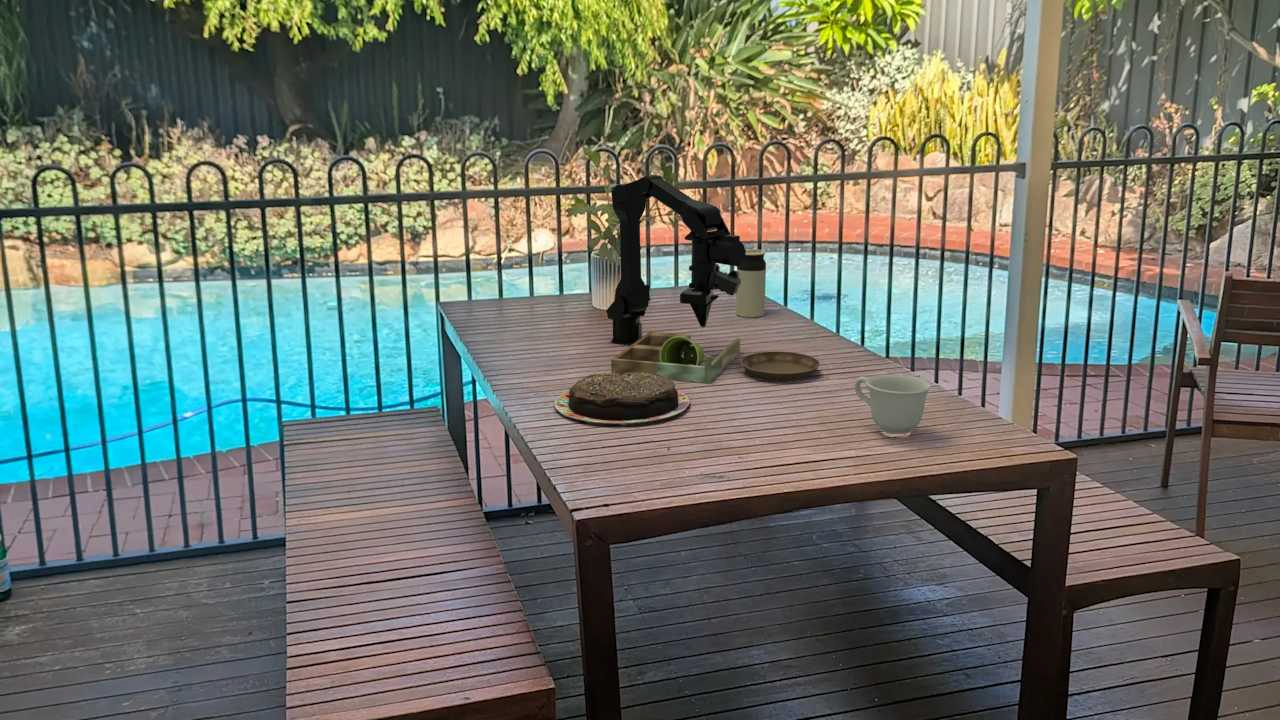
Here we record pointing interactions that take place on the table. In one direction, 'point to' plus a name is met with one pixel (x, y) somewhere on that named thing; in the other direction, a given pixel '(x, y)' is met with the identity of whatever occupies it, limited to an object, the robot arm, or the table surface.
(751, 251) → the travel mug
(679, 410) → the chocolate cake
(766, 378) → the plant saucer
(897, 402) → the teacup
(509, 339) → the table surface
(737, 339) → the compartment box
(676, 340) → the plant pot
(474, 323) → the table surface
